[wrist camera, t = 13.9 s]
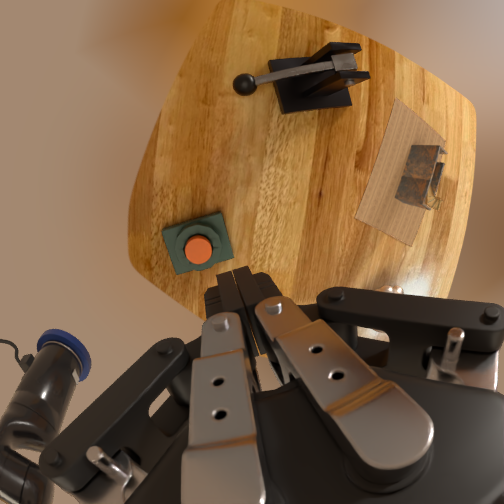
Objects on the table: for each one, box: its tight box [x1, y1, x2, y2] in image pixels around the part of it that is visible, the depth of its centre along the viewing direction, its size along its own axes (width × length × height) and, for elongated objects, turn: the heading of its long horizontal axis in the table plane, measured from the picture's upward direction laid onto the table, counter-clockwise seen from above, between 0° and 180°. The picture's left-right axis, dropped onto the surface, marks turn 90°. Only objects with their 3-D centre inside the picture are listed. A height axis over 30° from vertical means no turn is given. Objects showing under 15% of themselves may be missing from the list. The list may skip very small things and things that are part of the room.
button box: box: [162, 211, 234, 275], centre depth 40 cm, size 9×7×4 cm
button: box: [185, 235, 212, 264], centre depth 38 cm, size 4×4×2 cm
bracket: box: [268, 42, 370, 115], centre depth 31 cm, size 12×9×13 cm
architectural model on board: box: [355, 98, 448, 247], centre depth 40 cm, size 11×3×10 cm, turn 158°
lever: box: [233, 53, 358, 96], centre depth 29 cm, size 16×3×3 cm, turn 104°
